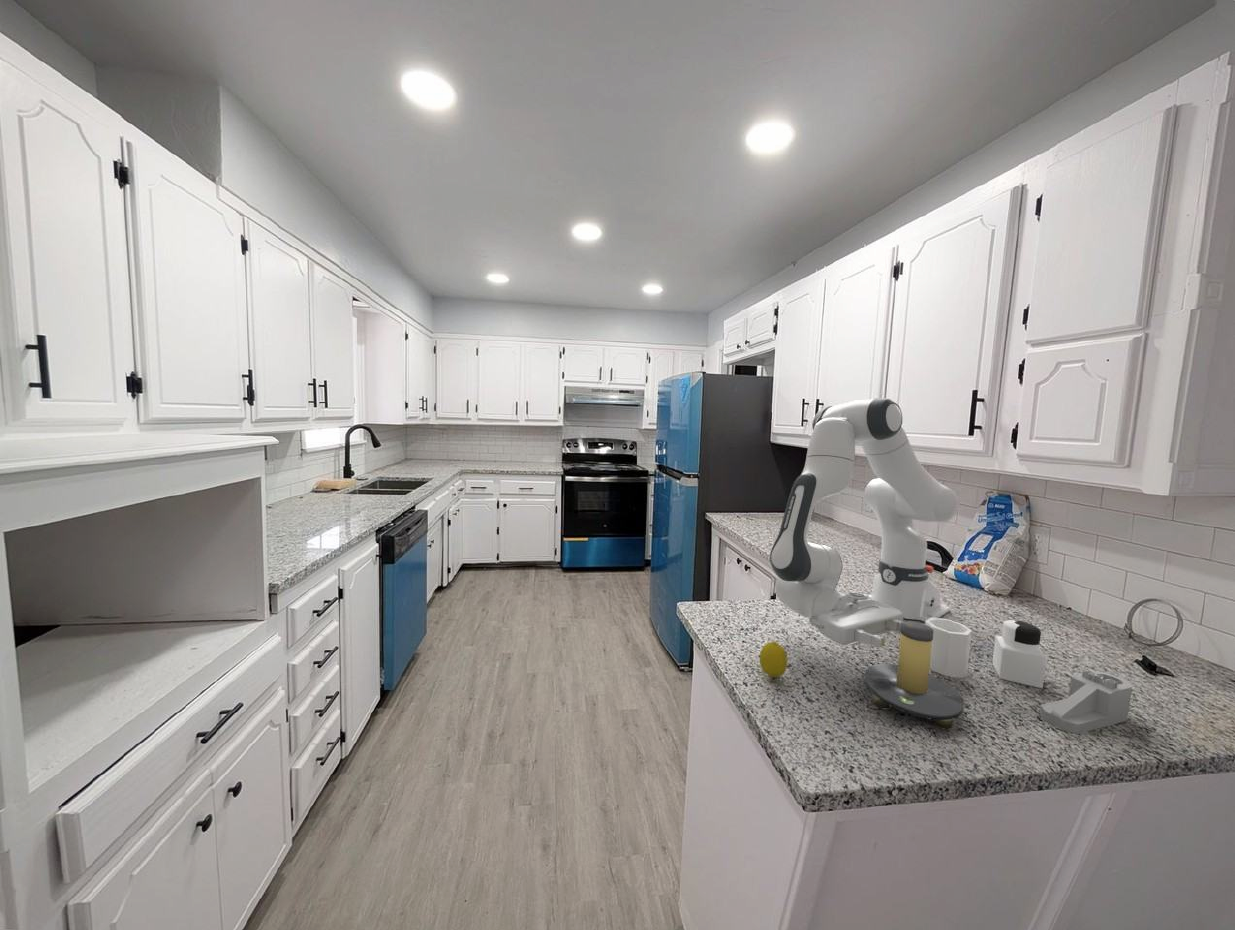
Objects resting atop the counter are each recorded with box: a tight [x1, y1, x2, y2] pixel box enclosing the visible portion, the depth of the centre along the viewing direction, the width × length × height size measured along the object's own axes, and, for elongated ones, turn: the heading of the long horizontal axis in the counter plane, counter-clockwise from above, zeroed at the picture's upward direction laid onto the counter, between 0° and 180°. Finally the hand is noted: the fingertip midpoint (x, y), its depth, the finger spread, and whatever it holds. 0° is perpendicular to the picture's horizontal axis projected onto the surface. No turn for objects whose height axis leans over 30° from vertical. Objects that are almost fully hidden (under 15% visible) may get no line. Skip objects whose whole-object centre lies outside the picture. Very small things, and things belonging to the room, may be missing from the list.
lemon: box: [759, 641, 788, 679], centre depth 94 cm, size 6×6×8 cm
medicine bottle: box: [992, 619, 1047, 689], centre depth 97 cm, size 7×7×12 cm
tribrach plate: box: [864, 663, 965, 730], centre depth 86 cm, size 16×16×4 cm
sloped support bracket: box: [1039, 669, 1133, 735], centre depth 83 cm, size 6×18×8 cm, turn 106°
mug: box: [924, 617, 973, 679], centre depth 99 cm, size 12×9×10 cm
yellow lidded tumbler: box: [897, 620, 934, 694], centre depth 85 cm, size 5×5×12 cm
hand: (897, 638), depth 88 cm, fingers open, 8 cm apart
